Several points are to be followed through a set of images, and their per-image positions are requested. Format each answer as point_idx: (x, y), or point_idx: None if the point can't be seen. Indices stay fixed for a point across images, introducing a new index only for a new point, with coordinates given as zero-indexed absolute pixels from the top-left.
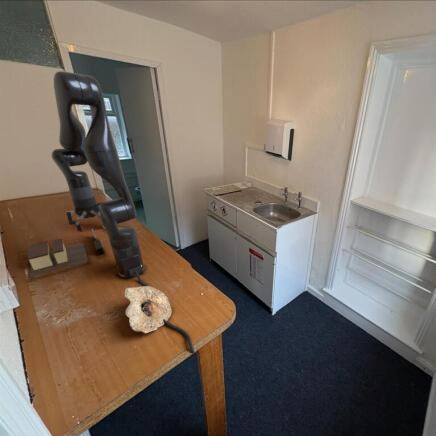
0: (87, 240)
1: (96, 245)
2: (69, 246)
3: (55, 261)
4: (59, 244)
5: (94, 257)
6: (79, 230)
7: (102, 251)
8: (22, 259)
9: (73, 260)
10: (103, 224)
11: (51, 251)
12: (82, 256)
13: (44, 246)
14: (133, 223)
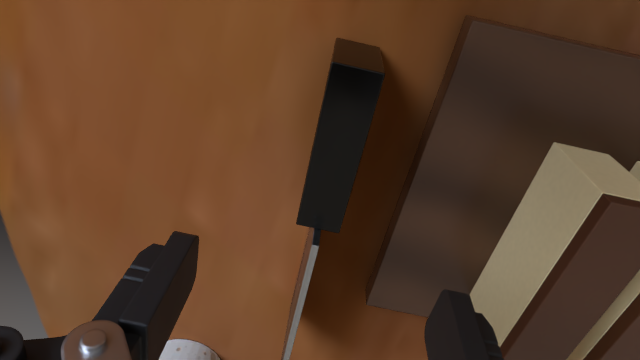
0: (329, 324)
1: (352, 146)
2: None
3: None
4: (560, 306)
5: (394, 90)
6: (472, 319)
7: (343, 52)
8: None
9: (527, 121)
10: (180, 266)
11: None
12: (459, 133)
13: (634, 343)
14: None
